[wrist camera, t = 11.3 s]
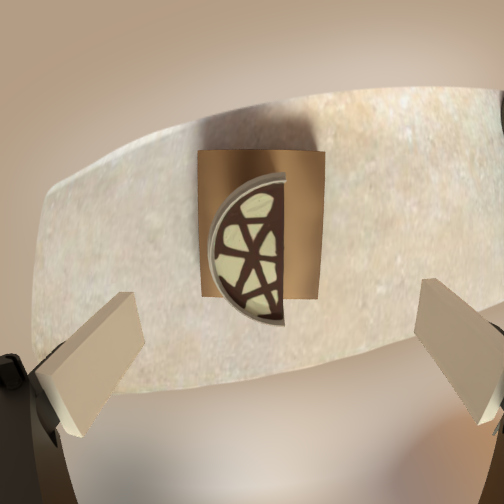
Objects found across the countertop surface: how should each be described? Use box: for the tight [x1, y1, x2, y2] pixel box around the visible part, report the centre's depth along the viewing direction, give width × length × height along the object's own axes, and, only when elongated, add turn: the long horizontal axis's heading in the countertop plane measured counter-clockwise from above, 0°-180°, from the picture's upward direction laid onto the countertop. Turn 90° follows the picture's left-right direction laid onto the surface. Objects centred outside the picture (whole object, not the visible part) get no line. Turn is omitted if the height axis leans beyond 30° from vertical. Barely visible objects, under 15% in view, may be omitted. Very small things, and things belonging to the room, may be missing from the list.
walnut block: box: [198, 149, 325, 299], centre depth 34 cm, size 13×16×5 cm
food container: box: [207, 172, 287, 327], centre depth 27 cm, size 12×6×10 cm, turn 1°
